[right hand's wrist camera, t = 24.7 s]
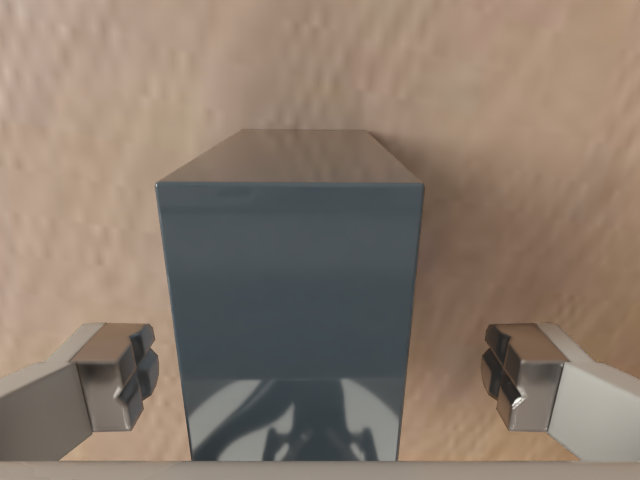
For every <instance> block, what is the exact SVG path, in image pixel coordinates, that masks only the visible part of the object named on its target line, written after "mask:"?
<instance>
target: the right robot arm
mask: <svg viewBox="0 0 640 480" xmlns="http://www.w3.org/2000/svg"><path fill="white" fill-rule="evenodd" d="M154 341H155V336H154V331H153V327H152V326H151V325H150V324H138V323H86V324H83V325H82V326H81V327H80V328H79V329H78V330H77V331H75V332H74V333H73V334H72V335H71V336H70V337H69V338H68V339H67V340H66V341H65V342H64V343H63V344H62V345H61V346H60V347H59V348H58V349H57V350H56V351H55V352H54V353H53V354H52V355H51V356H50V357H49V358H48V359H47V360H46V361H45V362H37V363H34V364H32V365H30V366H28V367H25V368H23V369H21V370H19V371H16V372H14V373H12V374H10V375H7V376H5V377H3V378H0V480H640V379H639V378H637V377H635V376H633V375H630V374H628V373H626V372H624V371H621V370H619V369H617V368H615V367H612V366H610V365H608V364H606V363H603V362H595V361H594V360H593V359H592V358H591V357H590V356H589V355H588V354H587V353H586V352H585V351H584V350H583V349H582V348H581V347H580V346H579V345H578V344H577V343H576V342H575V341H574V340H573V339H572V338H571V337H570V336H569V335H568V334H567V333H566V332H565V331H564V330H563V329H562V328H561V327H560V326H559V325H557V324H555V323H552V322H551V323H522V324H490V325H489V326H488V328H487V330H486V336H485V341H486V342H487V344H488V345H489V347H490V348H489V349H488V350H487V351H486V352H485V353H484V354H483V355H482V362H481V374H482V381H483V384H484V387H485V389H486V391H487V393H488V395H489V396H491V397H492V398H494V399H495V400H497V401H498V402H497V408H496V409H497V411H498V413H499V415H500V416H501V418H502V420H503V422H504V424H505V425H506V427H507V429H508V431H525V432H548V435H550V436H551V437H552V438H553V439H555V440H556V441H557V442H559V443H560V444H561V445H562V446H564V447H565V448H566V449H567V450H569V451H570V452H571V453H573V454H574V455H575V456H576V457H578V458H579V459H580V460H581V461H59V460H60V459H61V458H63V457H64V456H65V455H66V454H68V453H69V452H70V451H71V450H73V449H74V448H75V447H77V446H78V445H79V444H80V443H82V442H83V441H84V440H85V439H87V438H88V437H89V436H91V435H92V432H114V431H132V429H133V427H134V425H135V424H136V422H137V420H138V418H139V416H140V415H141V413H142V411H143V409H144V408H143V402H142V401H143V400H145V399H146V398H148V397H149V396H151V395H152V393H153V391H154V389H155V387H156V384H157V380H158V375H159V361H158V355H157V354H156V353H155V352H154V351H153V350H152V349H151V348H150V347H151V345H152V344H153V342H154Z"/></svg>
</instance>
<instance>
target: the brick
mask: <svg viewBox="0 0 640 480" xmlns="http://www.w3.org/2000/svg"><path fill="white" fill-rule="evenodd" d="M155 192H156V199H157V206H158V214H159V221H160V229H161V236H162V244H163V251H164V259H165V266H166V274H167V281H168V289H169V296H170V304H171V311H172V319H173V326H174V334H175V341H176V349H177V356H178V364H179V371H180V378H181V386H182V393H183V401H184V408H185V416H186V423H187V431H188V438H189V446H190V453H191V461H398V456H399V446H400V436H401V426H402V416H403V406H404V396H405V386H406V375H407V365H408V355H409V345H410V335H411V325H412V315H413V305H414V295H415V284H416V274H417V264H418V254H419V244H420V234H421V224H422V214H423V203H424V193H425V186H424V184H423V183H422V182H421V181H420V180H419V179H418V178H417V177H416V176H415V175H414V174H413V173H411V172H410V171H409V170H408V169H407V168H406V167H405V166H404V165H403V164H402V163H401V162H400V161H398V160H397V159H396V158H395V157H394V156H393V155H392V154H391V153H390V152H389V151H388V150H387V149H385V148H384V147H383V146H382V145H381V144H380V143H379V142H378V141H377V140H376V139H375V138H374V137H372V136H371V135H370V134H369V133H368V132H367V131H365V130H253V129H242V130H240V131H238V132H237V133H235V134H234V135H232V136H230V137H229V138H227V139H225V140H224V141H222V142H221V143H219V144H217V145H216V146H214V147H212V148H211V149H209V150H208V151H206V152H204V153H203V154H201V155H199V156H198V157H196V158H195V159H193V160H191V161H190V162H188V163H186V164H185V165H183V166H182V167H180V168H178V169H177V170H175V171H174V172H172V173H170V174H169V175H167V176H165V177H164V178H162V179H161V180H159V181H157V182H156V183H155Z"/></svg>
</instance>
